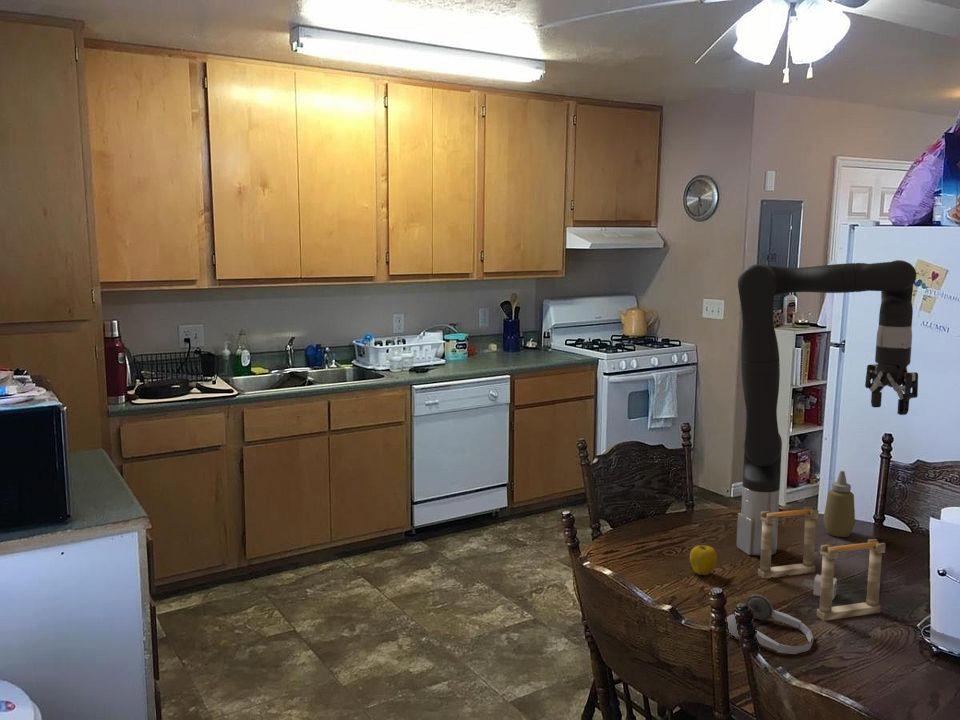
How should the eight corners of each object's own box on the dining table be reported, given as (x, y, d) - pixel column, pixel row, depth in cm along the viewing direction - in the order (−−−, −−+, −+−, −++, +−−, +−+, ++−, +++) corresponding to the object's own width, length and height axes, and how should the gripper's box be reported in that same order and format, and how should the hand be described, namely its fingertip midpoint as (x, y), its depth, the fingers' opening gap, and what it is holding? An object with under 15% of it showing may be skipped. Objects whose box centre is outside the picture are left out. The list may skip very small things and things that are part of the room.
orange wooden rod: (769, 519, 189) (769, 514, 189) (766, 517, 190) (766, 512, 190) (814, 514, 192) (814, 509, 192) (811, 512, 193) (811, 507, 193)
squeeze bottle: (859, 539, 215) (864, 475, 212) (829, 539, 215) (833, 475, 212) (846, 528, 223) (850, 467, 220) (817, 528, 223) (821, 467, 220)
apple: (684, 574, 193) (685, 543, 192) (697, 566, 198) (698, 536, 197) (708, 582, 189) (709, 550, 188) (720, 573, 193) (722, 543, 192)
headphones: (700, 626, 165) (795, 673, 153) (705, 602, 164) (801, 648, 152) (734, 598, 178) (824, 639, 166) (739, 575, 177) (830, 615, 165)
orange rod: (830, 553, 168) (831, 548, 168) (827, 551, 169) (827, 546, 169) (880, 547, 171) (880, 542, 171) (876, 545, 172) (876, 540, 172)
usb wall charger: (833, 600, 179) (834, 583, 178) (801, 593, 183) (802, 577, 182) (836, 593, 182) (837, 577, 182) (804, 586, 186) (805, 570, 185)
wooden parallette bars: (824, 621, 169) (829, 550, 167) (757, 574, 193) (759, 511, 191) (881, 613, 173) (886, 543, 170) (807, 567, 196) (811, 506, 194)
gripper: (859, 341, 194) (855, 405, 196) (903, 349, 180) (898, 418, 182) (884, 340, 195) (880, 404, 198) (930, 347, 182) (925, 416, 184)
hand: (888, 410), depth 190 cm, fingers open, 8 cm apart
